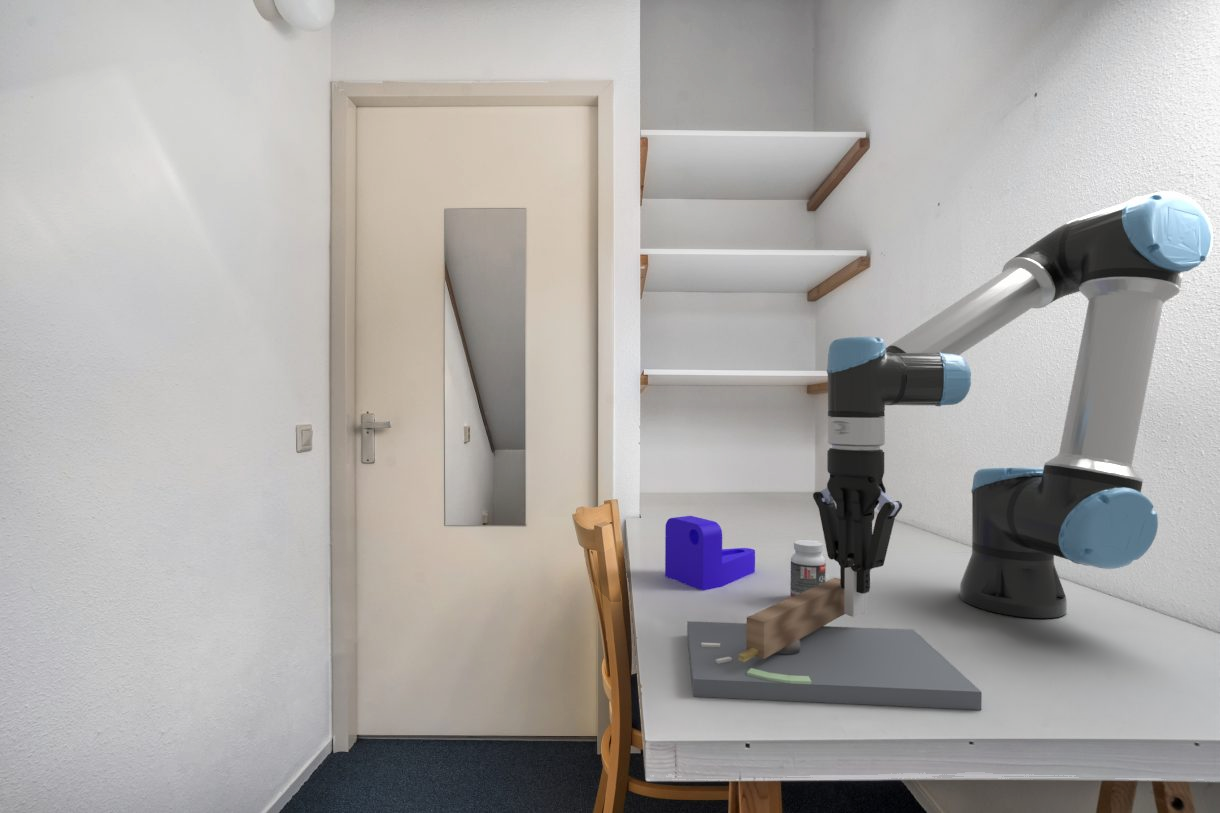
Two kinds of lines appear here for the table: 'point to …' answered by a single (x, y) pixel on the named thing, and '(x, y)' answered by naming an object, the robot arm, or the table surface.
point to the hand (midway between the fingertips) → (854, 613)
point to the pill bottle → (807, 566)
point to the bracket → (703, 554)
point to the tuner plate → (829, 668)
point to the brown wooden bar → (793, 620)
